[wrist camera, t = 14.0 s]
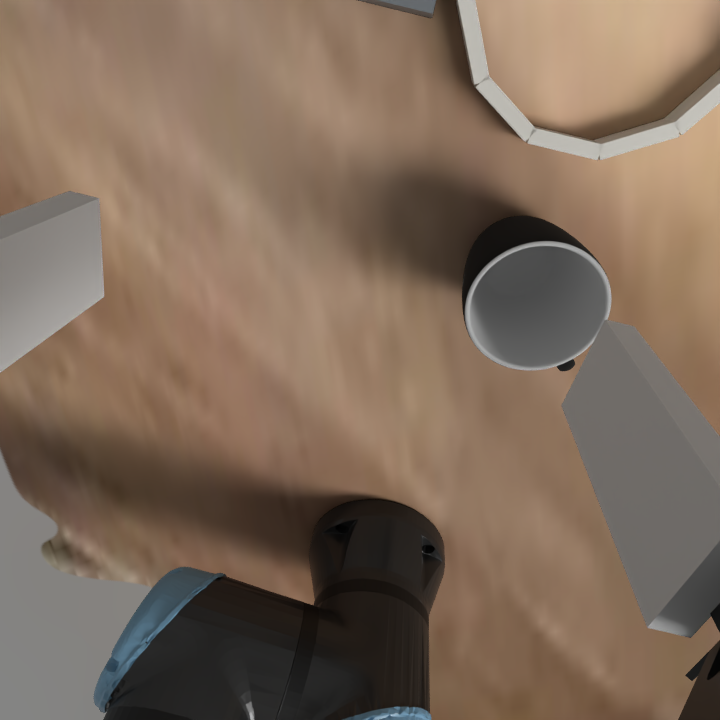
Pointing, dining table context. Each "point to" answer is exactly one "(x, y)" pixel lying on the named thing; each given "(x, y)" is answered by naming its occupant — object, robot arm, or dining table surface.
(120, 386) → the dining table surface
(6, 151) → the dining table surface
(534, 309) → the mug
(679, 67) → the dining table surface
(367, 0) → the tray
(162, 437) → the dining table surface
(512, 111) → the ring holder
